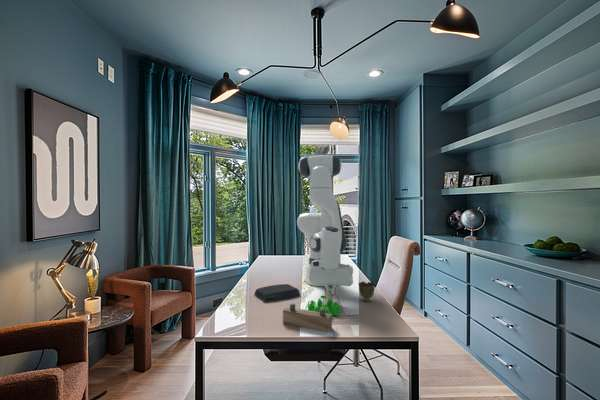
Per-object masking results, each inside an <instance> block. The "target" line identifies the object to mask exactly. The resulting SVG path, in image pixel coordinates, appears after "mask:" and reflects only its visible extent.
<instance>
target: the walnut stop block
mask: <svg viewBox="0 0 600 400" xmlns="http://www.w3.org/2000/svg"><path fill="white" fill-rule="evenodd" d="M282 323H283V324H285V325H289V326H295V327H300V328H305V329H308V330H309V329H310V330H315V331H319V332H325V333H329V332H330V331H331V330H332V329H333V315H332V314H331V313H330V314H327V313H325V309H324V308H321V309H320V312H315V311H314V310H313V311H309V310H308V309H306V310H305V308H303V309H302V308H297V307H296V304H295V303H289V306H287V307H285V308H284V309H283V310H282Z"/></svg>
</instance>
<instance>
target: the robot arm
mask: <svg viewBox="0 0 600 400" xmlns="http://www.w3.org/2000/svg"><path fill="white" fill-rule="evenodd" d="M342 165H343V164H342V161H341V158H340V157H339V156H338V155H333V154H332V155H327V154H320V155H319V154H318V155H309V156H308V155H305V156H302V157H301V158H300V159H299V161H298V167H297V168H298V171H299V173H300V175H301V176H303V177H304V178H306V179H308V177H309V184H308V185H309V186H308V188H309V192H308V193H309V202H310V204H311V205H312V206H314V207H316V208H317V209H319V210H320V212H304V213H300V214H299V216H298V217H297V220H296V225H297V228H298V230H300V231H301V233H303V234H304V235H305V237H306V239H307V241H308V244H309V257H308V266H307V267H306V272H305V275H306V276H305V278H303V283H306V284H307V285H310V286H314V287H325V289H326V294H330V295H335V289H336V288H337V286H345V287H351V286H352V285H353V284H354V277H353V274H354V268H353V266H351V264H344V263H341V258H342V257H341V253H343V251H344V250H345V249H346V248H347V245H348V240H347V237H346V232H345V229H344V218H343V217H342V212H341V207H340V204H339V201H338V200H336V198H335V196H334V194H333V193H334V192H333V183H332V178H334V177H336V176H337V175H339V174H341V170H342ZM330 286H332V288H330Z"/></svg>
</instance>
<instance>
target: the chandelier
mask: <svg viewBox="0 0 600 400" xmlns="http://www.w3.org/2000/svg"><path fill="white" fill-rule="evenodd" d="M324 299H327V296H326V295H320V298H318V299H317V302H316V301H315V300H309V301H308V302H307V305H306V306H305V308H304V310H309V311H315V312H320V309H321V308H324V309H325V313H327V314H332V316H336V317H338V316H339V315H340V313H341V304H340V303H339V302H338V301H334V302H333V300H332V299H331V298H328V299H327V301H326V305H325V301H324ZM324 305H325V306H324Z"/></svg>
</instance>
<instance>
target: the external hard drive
mask: <svg viewBox="0 0 600 400" xmlns="http://www.w3.org/2000/svg"><path fill="white" fill-rule="evenodd" d="M300 293H301V292H300V290H299V288H297V287H294V286H293V285H290V284H289V283H283V284H282V283H281V284H274V285H273V284H272V285H266V286H261V287H258V288H256V289H255V292H254V295H253V296H254V297H256V298H257V299H258V300H260V301H262V303H269V302H270V303H271V302H277V301H283V300H287V299H292V298H293V299H294V298H298V297H301V294H300Z"/></svg>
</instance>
